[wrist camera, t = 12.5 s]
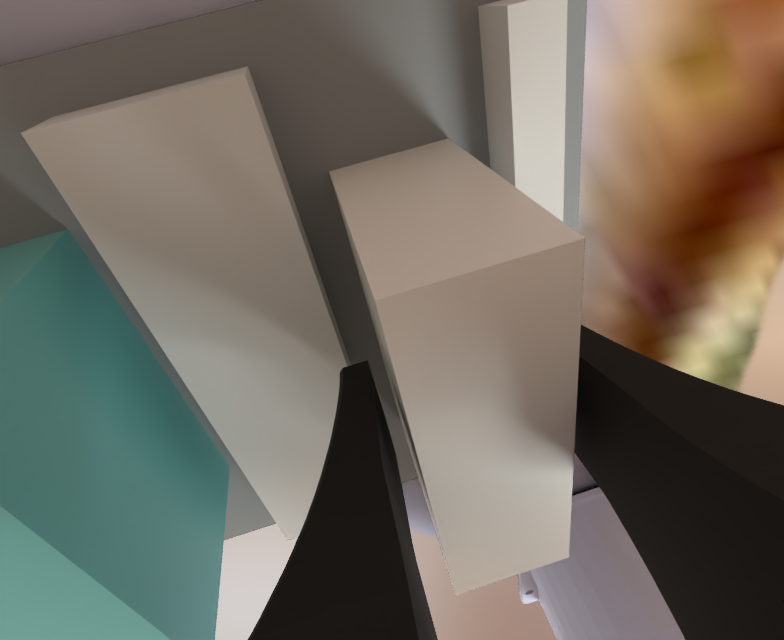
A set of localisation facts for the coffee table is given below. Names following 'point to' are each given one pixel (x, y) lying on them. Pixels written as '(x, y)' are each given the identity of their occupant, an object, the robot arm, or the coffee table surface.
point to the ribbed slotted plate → (275, 190)
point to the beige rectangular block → (474, 348)
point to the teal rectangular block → (97, 466)
